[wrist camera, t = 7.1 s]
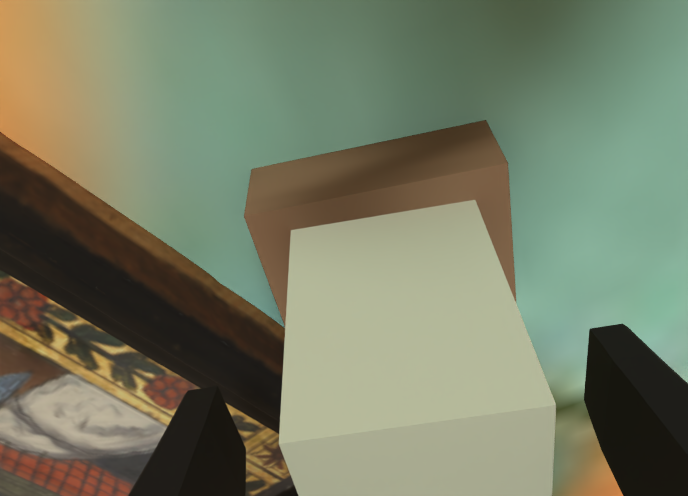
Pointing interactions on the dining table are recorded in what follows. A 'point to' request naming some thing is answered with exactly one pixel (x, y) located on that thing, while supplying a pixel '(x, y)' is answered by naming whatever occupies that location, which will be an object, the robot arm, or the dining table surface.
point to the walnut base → (379, 191)
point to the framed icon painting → (115, 344)
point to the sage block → (410, 363)
